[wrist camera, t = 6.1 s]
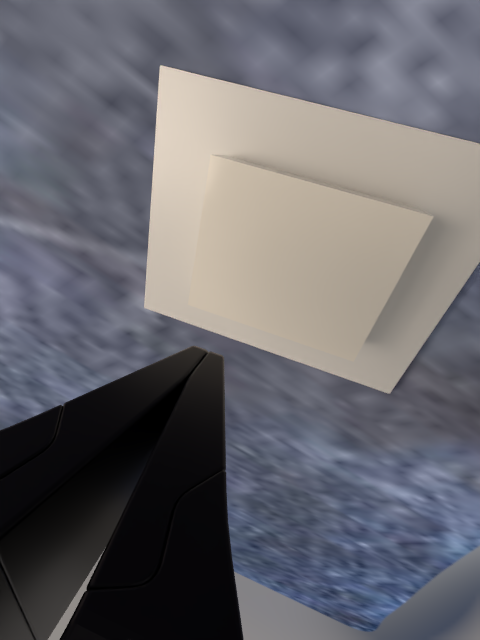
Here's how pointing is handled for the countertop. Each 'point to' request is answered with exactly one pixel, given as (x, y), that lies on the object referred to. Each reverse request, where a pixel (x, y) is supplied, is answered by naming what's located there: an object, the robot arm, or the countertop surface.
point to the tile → (299, 254)
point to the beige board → (322, 165)
